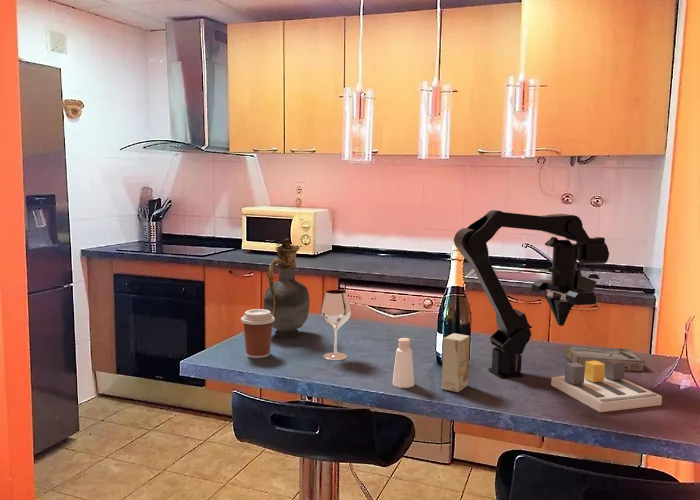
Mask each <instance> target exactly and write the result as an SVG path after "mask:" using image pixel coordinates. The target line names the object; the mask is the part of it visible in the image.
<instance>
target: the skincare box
mask: <svg viewBox="0 0 700 500" xmlns="http://www.w3.org/2000/svg"><path fill="white" fill-rule="evenodd" d="M470 340H471V339H470V335H466V334H460V333H456V332H454V333H451V334H449V335H447V336H445V337H443V340H442V341H443V343H442V345H443V347H442V366H441V367H442V372H441V389H442V390H446V391H451V392H454V393H455V392H456V393H459V392H460V391H462V390H464V389H465V388H466V387H467V386H468V384H469V361H470Z"/></svg>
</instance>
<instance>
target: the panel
mask: <svg viewBox="0 0 700 500" xmlns="http://www.w3.org/2000/svg"><path fill="white" fill-rule="evenodd" d="M624 368H625V362H622V361H620V360H617V359H609V360H605V372H604V381H600V382H592V381H590V380H588V379H586V378H584V377H585V366H583V365H581V364H579V363H577V362H575V363H571V362H566V363H565V367H564V375H560V376H559V375H558V376H551V381H550V382H551V384H550V385H551V386H552V387H554V388H556V389H557V390H559V391H561V392H562V393H564V394H566V395H568V396H569V397H572V398H573V399H576V400H577V401H579V402H581V403H583V404H584V405H586V406H588V407H589V408H592V409H593V410H595V411H596V412H598V413H604V412H606V413H607V412H613V411H621V410H631V409H638V408H647V407H655V406H656V407H657V406H662V400H663V395H660V394H658V393H656V392H654V391H651V390H649V389H647V388H644V386H641V385H638V384H636V383H633V382H631V381H630V380H628V379H627V380H626V379H625V370H624Z"/></svg>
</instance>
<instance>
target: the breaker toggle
mask: <svg viewBox="0 0 700 500" xmlns="http://www.w3.org/2000/svg"><path fill="white" fill-rule="evenodd" d="M604 372H605V364H603V363H601V362H599V361H585V377H584V378H586V379H588V380H590V381H592V382H600V381H604Z"/></svg>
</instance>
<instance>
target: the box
mask: <svg viewBox="0 0 700 500" xmlns="http://www.w3.org/2000/svg"><path fill="white" fill-rule="evenodd" d="M563 355H565V357H566V358H567V359H568V360H569V362H570V363H575V362H577V363H579V364H581V365H583V366H585V361H599V362H601V363H603V364H605V360H609V359H617V360H620V361H622V362H625V368H624V371H635V372H636V371H639V372H642V371H644V367H645V361H644V360H643V359H642V358H640V357H639V356H638V355H636V354H635V353H634V352H633V351H631V349H629V348H621V347H617V348H616V347H615V348H614V347H601V346H600V347H597V346H580V345H579V346H578V345H565V349H564V354H563Z"/></svg>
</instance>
